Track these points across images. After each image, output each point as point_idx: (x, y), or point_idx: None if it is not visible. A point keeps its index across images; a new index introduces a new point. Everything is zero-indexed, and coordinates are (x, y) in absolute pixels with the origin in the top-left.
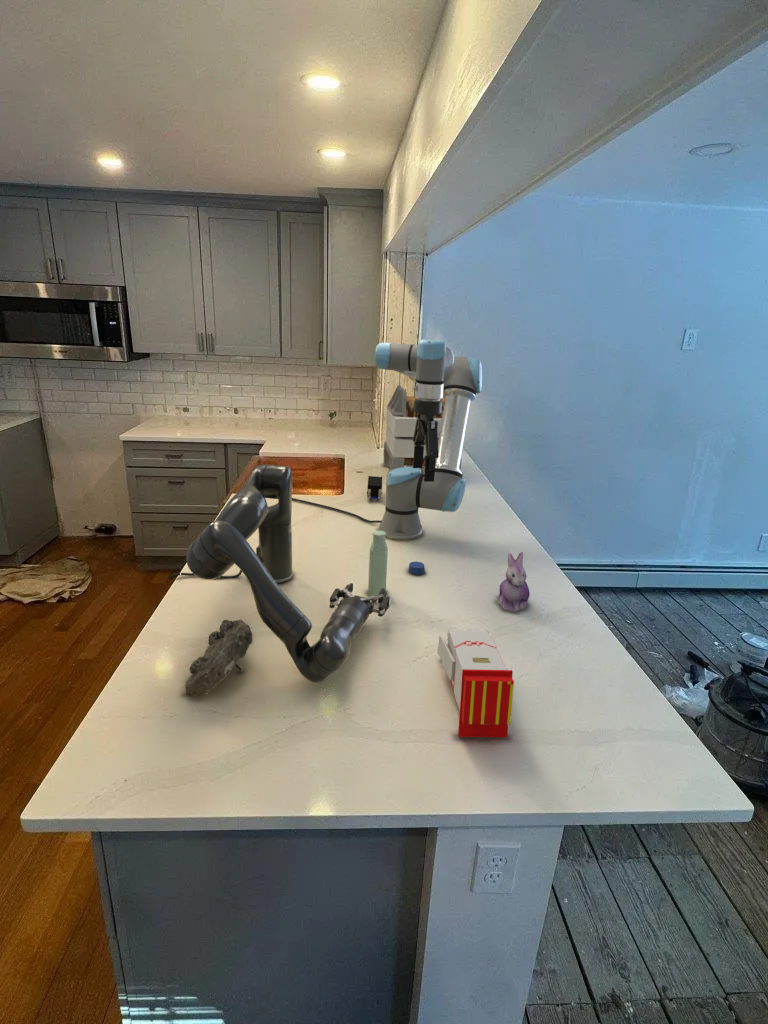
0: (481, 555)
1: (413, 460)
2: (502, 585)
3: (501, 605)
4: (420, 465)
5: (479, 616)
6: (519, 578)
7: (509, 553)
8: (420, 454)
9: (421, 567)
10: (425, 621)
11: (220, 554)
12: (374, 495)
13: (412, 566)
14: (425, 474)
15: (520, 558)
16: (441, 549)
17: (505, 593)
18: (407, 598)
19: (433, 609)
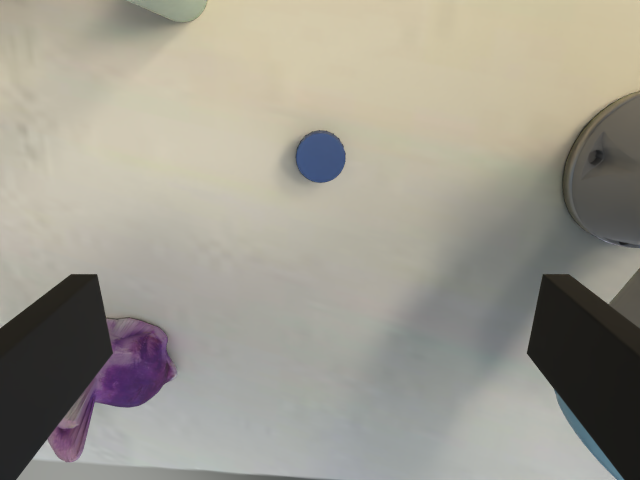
0: (407, 360)
1: (617, 311)
2: (121, 349)
3: (118, 319)
4: (543, 350)
5: (65, 254)
6: None
7: (64, 425)
8: (622, 435)
9: (299, 168)
10: (21, 111)
11: None
12: None
13: (308, 141)
14: (26, 315)
15: (49, 441)
16: (467, 267)
17: None
18: (148, 87)
19: (89, 149)
